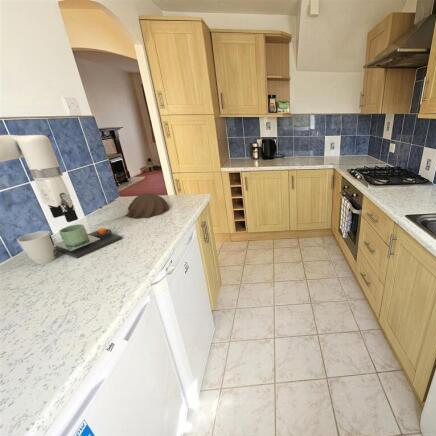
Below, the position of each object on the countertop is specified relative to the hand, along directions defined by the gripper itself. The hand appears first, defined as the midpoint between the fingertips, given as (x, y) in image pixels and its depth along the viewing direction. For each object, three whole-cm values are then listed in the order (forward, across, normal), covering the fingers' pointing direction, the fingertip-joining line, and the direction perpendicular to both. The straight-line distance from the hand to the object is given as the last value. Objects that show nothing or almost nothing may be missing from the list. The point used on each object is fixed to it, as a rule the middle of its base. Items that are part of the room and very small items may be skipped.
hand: (65, 218), depth 90 cm
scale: (+13, 0, +4) cm, 13 cm away
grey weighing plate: (+10, 0, 0) cm, 10 cm away
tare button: (+10, 0, +9) cm, 14 cm away
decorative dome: (+13, -10, +38) cm, 41 cm away
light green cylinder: (+10, 0, 0) cm, 10 cm away
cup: (+13, -1, -9) cm, 16 cm away
